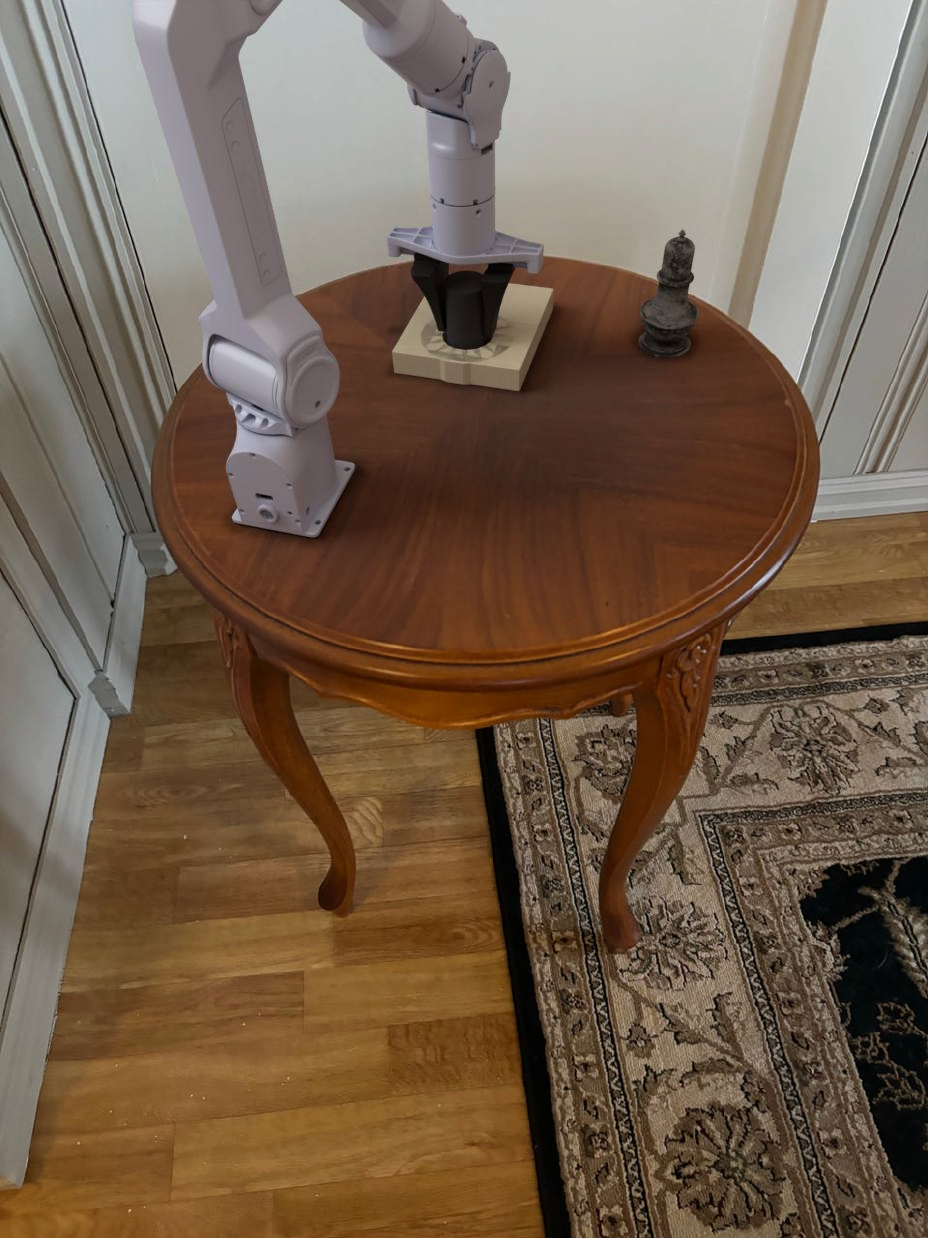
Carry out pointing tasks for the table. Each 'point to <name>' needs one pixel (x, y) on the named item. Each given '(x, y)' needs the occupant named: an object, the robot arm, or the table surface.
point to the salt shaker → (671, 303)
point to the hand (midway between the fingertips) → (467, 329)
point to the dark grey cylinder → (464, 310)
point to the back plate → (486, 365)
